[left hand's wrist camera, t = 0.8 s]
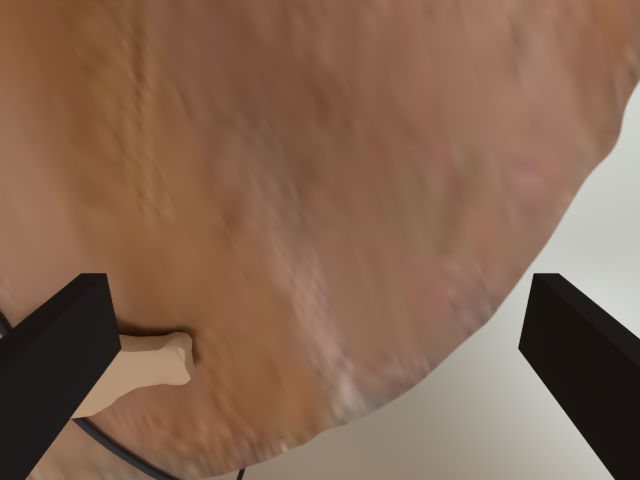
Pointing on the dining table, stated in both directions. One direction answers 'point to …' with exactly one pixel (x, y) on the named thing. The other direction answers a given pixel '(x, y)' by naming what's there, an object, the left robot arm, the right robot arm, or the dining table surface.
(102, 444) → the right robot arm
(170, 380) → the squash
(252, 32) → the dining table surface
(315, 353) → the dining table surface
